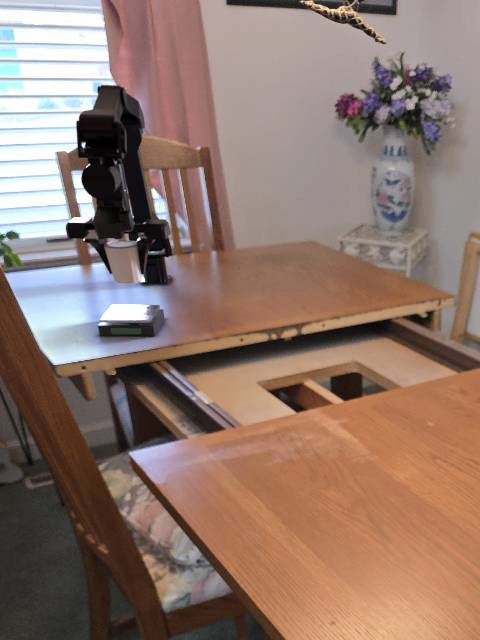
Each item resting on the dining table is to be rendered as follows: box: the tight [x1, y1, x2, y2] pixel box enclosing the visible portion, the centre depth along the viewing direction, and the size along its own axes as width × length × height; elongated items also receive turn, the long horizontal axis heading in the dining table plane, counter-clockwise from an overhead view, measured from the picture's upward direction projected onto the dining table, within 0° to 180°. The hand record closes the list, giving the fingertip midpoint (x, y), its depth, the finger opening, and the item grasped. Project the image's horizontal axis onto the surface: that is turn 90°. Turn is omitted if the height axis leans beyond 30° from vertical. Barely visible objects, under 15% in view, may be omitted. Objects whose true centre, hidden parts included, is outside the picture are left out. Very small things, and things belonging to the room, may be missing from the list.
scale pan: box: [99, 304, 161, 323], centre depth 148 cm, size 10×10×1 cm
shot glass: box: [104, 240, 144, 285], centre depth 143 cm, size 7×7×7 cm
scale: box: [97, 308, 166, 337], centre depth 149 cm, size 11×11×3 cm
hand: (127, 273), depth 144 cm, fingers closed on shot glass, 6 cm apart
